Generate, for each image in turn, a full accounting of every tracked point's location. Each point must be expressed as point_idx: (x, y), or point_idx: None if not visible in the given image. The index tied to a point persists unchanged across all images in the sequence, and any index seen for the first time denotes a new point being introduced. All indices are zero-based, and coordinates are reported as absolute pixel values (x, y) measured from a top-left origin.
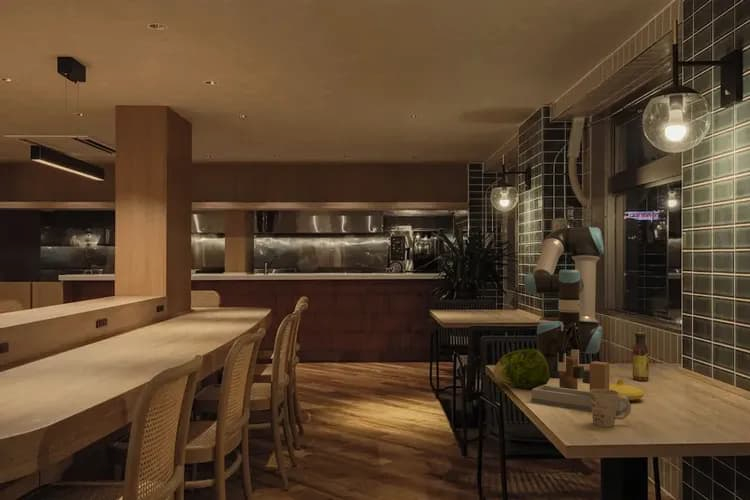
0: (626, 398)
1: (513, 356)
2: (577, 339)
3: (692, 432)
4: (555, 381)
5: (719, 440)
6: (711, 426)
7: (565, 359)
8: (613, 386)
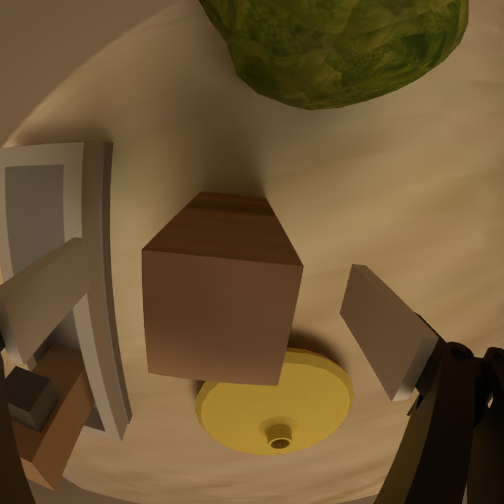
0: (107, 436)
1: None
2: (476, 457)
3: (69, 464)
4: (483, 124)
5: (63, 474)
6: (126, 487)
7: (42, 331)
8: (252, 414)
